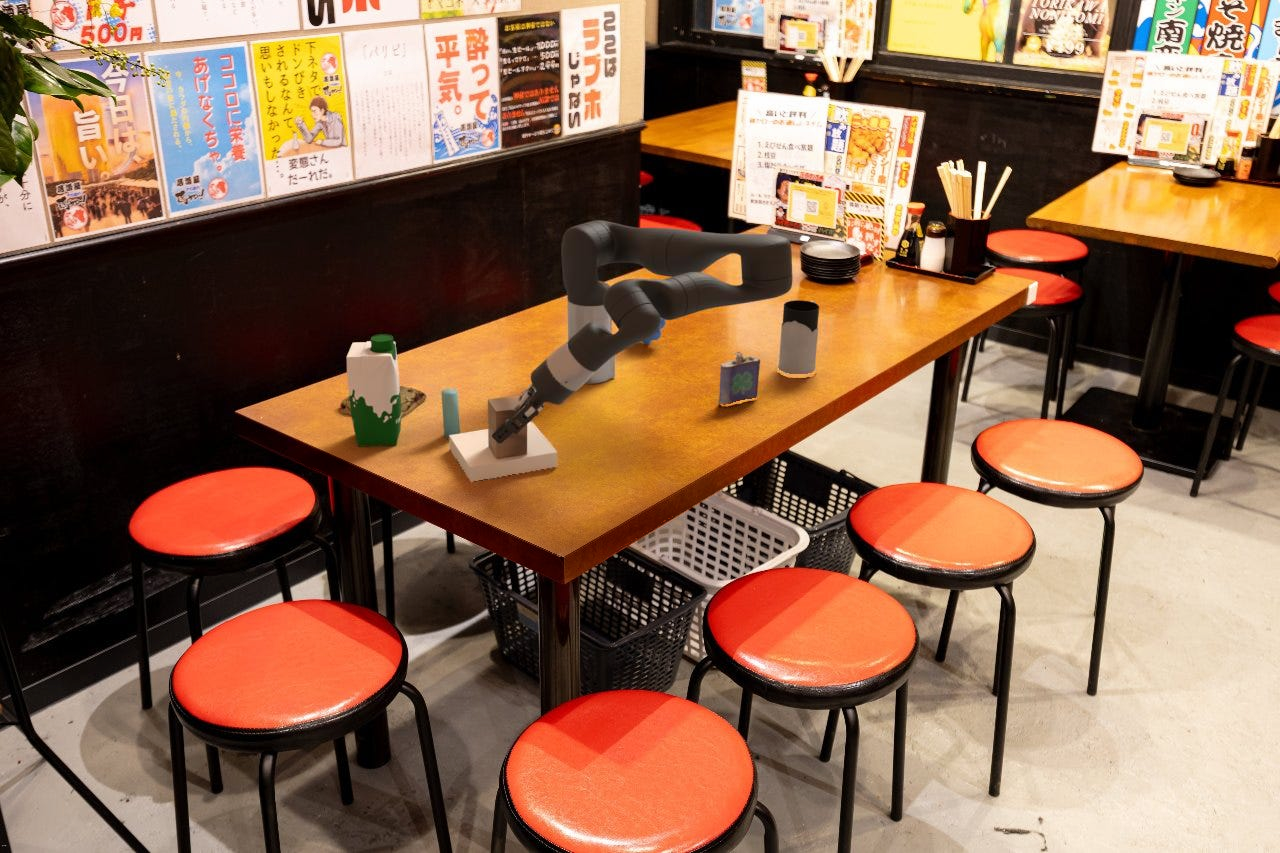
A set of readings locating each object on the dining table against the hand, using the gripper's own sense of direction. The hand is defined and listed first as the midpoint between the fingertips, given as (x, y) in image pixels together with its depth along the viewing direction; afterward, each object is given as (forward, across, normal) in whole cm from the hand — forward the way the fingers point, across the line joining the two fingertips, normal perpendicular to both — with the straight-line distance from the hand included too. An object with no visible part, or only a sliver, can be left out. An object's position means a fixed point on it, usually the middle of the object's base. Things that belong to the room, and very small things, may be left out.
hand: (501, 429), depth 199 cm
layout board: (+5, +3, -5) cm, 8 cm away
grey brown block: (+2, 0, -4) cm, 4 cm away
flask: (-24, +35, -34) cm, 54 cm away
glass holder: (-33, +56, -44) cm, 78 cm away
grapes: (-9, +66, -19) cm, 69 cm away
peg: (+14, +11, +4) cm, 18 cm away
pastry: (+26, +23, +15) cm, 38 cm away
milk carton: (+23, +8, +13) cm, 28 cm away
